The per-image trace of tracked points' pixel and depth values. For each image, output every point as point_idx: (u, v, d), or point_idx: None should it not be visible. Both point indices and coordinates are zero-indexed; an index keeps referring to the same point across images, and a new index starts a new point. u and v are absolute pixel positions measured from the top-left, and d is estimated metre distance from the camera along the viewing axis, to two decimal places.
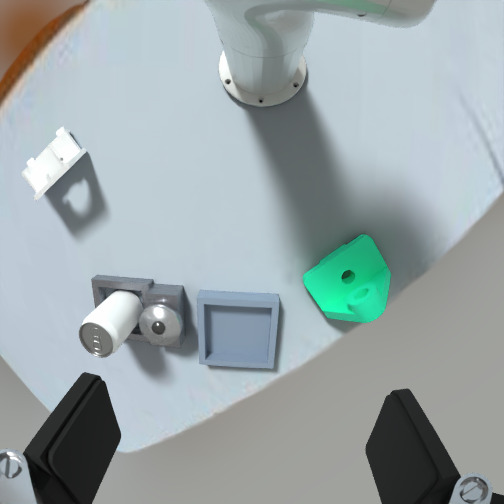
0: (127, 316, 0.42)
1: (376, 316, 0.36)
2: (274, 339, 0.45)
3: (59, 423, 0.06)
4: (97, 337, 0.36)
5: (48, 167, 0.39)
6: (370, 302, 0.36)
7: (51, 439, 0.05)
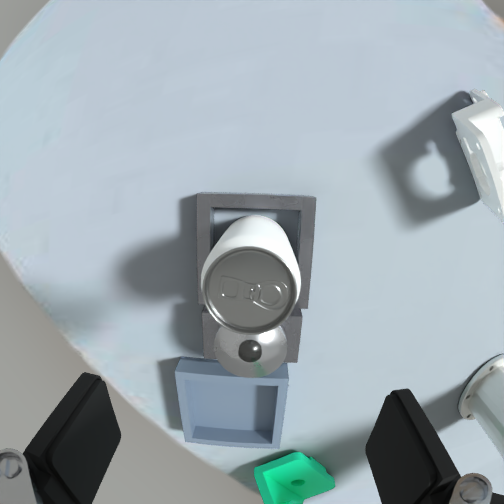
0: None
1: None
2: (228, 445, 0.32)
3: (59, 423, 0.06)
4: (255, 294, 0.18)
5: None
6: None
7: (51, 439, 0.05)
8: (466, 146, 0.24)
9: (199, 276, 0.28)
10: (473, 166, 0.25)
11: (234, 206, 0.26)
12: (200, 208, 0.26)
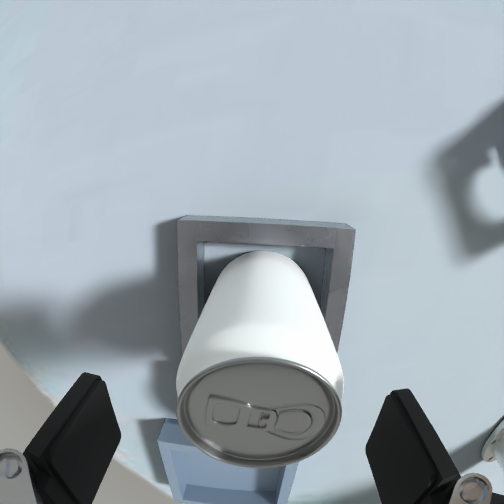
0: None
1: None
2: None
3: (59, 423, 0.06)
4: (269, 422, 0.09)
5: None
6: None
7: (51, 439, 0.05)
8: None
9: (183, 336, 0.19)
10: None
11: (233, 240, 0.18)
12: (182, 242, 0.18)
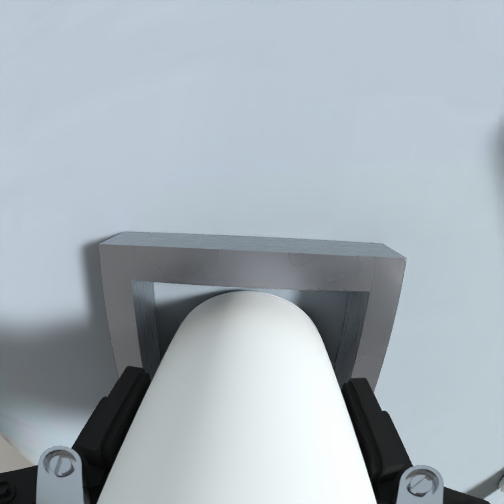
0: None
1: None
2: None
3: (111, 416, 0.06)
4: None
5: None
6: None
7: (106, 432, 0.06)
8: None
9: None
10: None
11: (192, 281, 0.10)
12: (109, 281, 0.10)
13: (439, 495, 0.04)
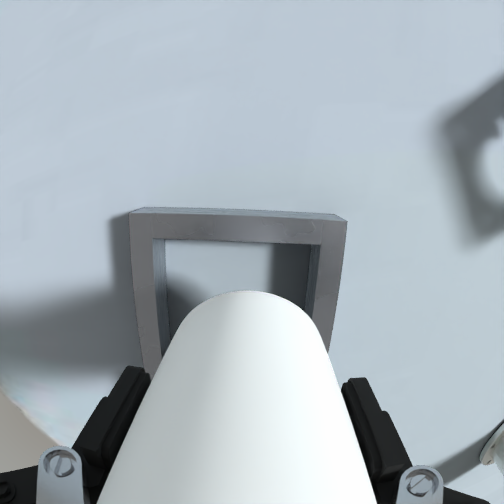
0: None
1: None
2: None
3: (111, 416, 0.06)
4: None
5: None
6: None
7: (106, 432, 0.06)
8: None
9: (144, 349, 0.16)
10: None
11: (195, 237, 0.14)
12: (135, 240, 0.14)
13: (440, 495, 0.04)
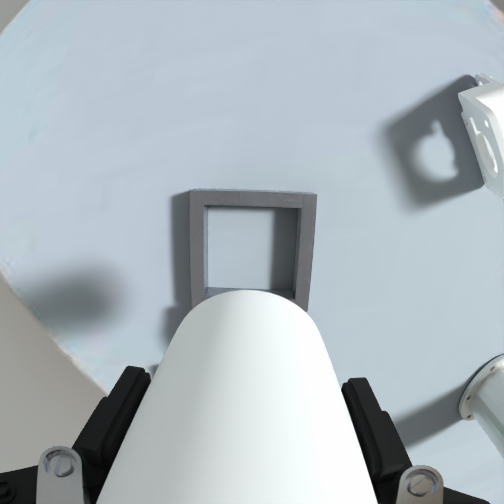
0: None
1: None
2: None
3: (111, 416, 0.06)
4: None
5: None
6: None
7: (106, 432, 0.06)
8: (472, 127, 0.22)
9: (192, 278, 0.26)
10: (479, 148, 0.23)
11: (229, 204, 0.25)
12: (193, 206, 0.25)
13: (439, 495, 0.04)
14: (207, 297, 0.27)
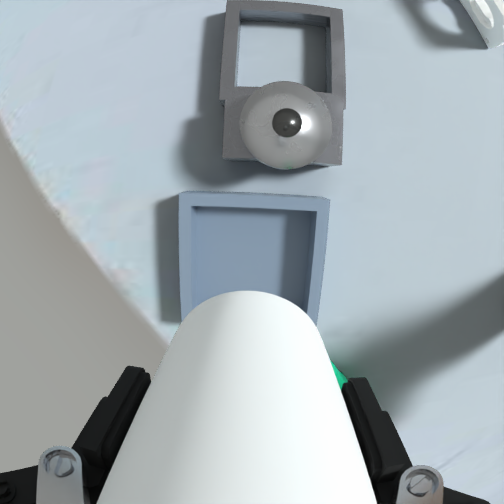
0: None
1: None
2: None
3: (111, 416, 0.06)
4: None
5: None
6: None
7: (106, 432, 0.06)
8: None
9: (223, 69, 0.22)
10: (475, 13, 0.18)
11: (264, 9, 0.20)
12: (229, 10, 0.20)
13: (439, 495, 0.04)
14: (237, 87, 0.22)
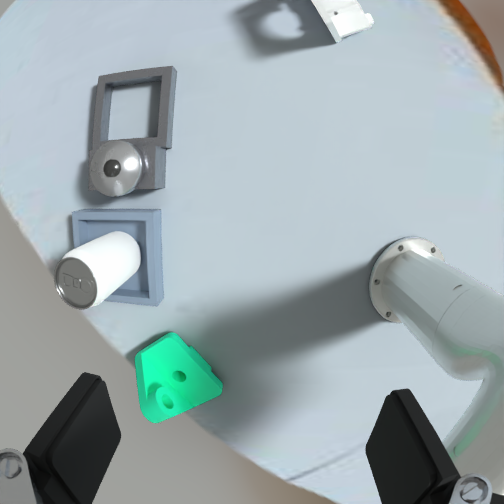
0: None
1: (149, 418, 0.34)
2: (113, 300, 0.37)
3: (59, 423, 0.06)
4: (79, 285, 0.27)
5: None
6: (162, 414, 0.34)
7: (51, 439, 0.05)
8: None
9: (94, 130, 0.33)
10: None
11: (119, 79, 0.31)
12: (99, 84, 0.31)
13: None
14: (101, 142, 0.33)
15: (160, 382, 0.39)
